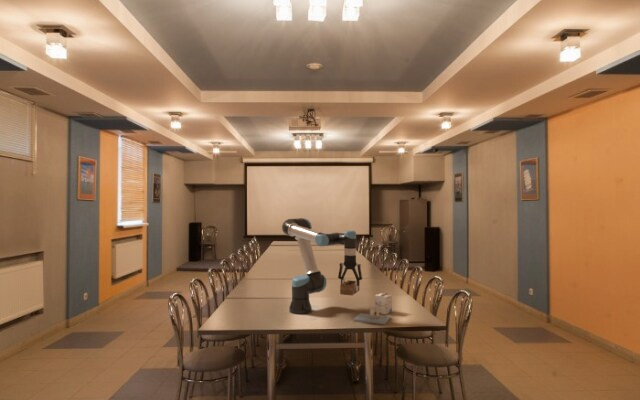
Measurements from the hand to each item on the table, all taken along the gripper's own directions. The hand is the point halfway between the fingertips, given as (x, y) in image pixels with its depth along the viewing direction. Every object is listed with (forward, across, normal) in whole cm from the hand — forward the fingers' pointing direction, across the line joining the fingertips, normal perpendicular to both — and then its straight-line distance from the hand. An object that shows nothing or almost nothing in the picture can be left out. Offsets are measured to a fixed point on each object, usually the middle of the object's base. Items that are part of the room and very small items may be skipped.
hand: (350, 290), depth 272 cm
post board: (+17, +15, -1) cm, 23 cm away
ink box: (+18, +18, +19) cm, 31 cm away
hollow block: (+1, 0, 0) cm, 1 cm away
